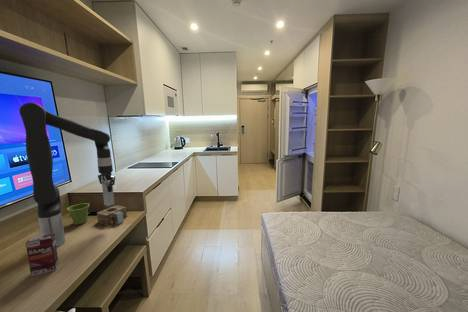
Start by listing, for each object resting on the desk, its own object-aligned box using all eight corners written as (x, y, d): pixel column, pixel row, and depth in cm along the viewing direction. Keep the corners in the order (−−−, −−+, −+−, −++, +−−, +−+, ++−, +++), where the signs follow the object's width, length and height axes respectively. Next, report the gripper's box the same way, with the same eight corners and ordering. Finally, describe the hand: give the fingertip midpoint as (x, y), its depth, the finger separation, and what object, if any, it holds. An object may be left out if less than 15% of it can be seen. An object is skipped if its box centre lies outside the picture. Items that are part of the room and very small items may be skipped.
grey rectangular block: (118, 224, 132) (117, 214, 131) (114, 223, 134) (112, 213, 133) (123, 221, 136) (122, 212, 135) (119, 220, 138) (118, 211, 136)
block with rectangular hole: (107, 225, 131) (106, 215, 130) (98, 222, 135) (96, 212, 134) (126, 216, 144) (126, 207, 143) (117, 214, 148) (116, 205, 147)
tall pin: (108, 206, 126) (106, 184, 124) (104, 205, 127) (101, 183, 125) (114, 203, 129) (112, 182, 127) (110, 202, 131) (108, 182, 129)
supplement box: (30, 277, 87) (24, 243, 84) (35, 270, 91) (29, 237, 88) (56, 270, 91) (51, 237, 88) (59, 264, 95) (54, 232, 92)
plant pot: (94, 217, 142) (93, 202, 140) (85, 226, 130) (82, 209, 129) (76, 219, 140) (74, 203, 139) (64, 227, 129) (62, 210, 127)
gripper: (91, 164, 124) (94, 191, 127) (106, 166, 118) (109, 194, 121) (103, 162, 131) (106, 188, 133) (118, 164, 125) (121, 191, 127)
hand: (108, 191), depth 127 cm, fingers closed on tall pin, 4 cm apart
